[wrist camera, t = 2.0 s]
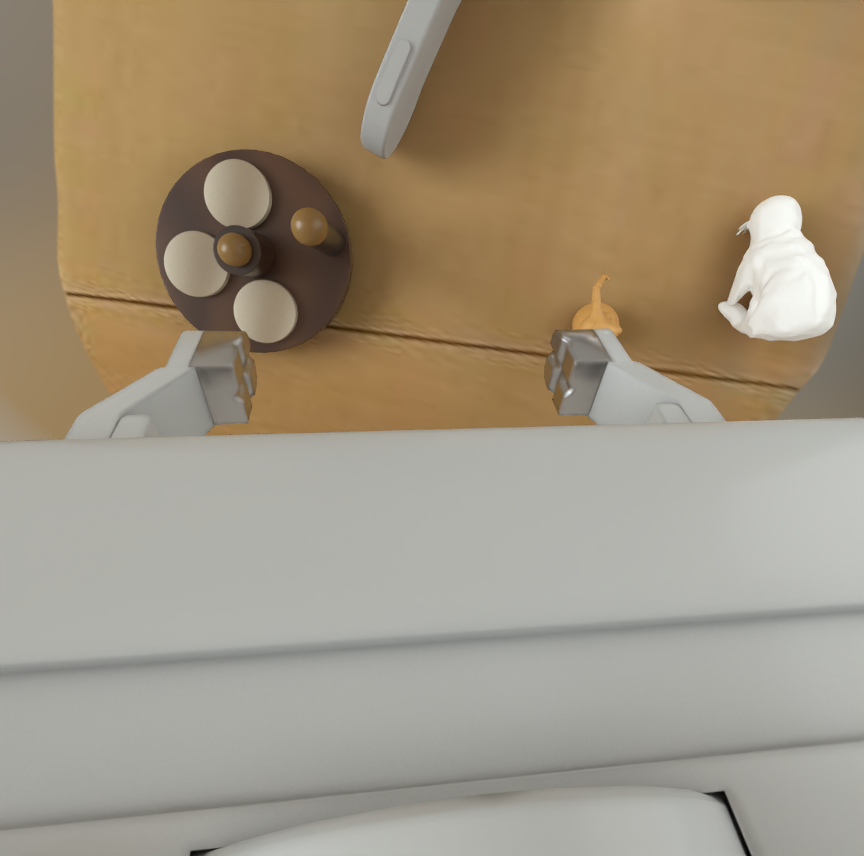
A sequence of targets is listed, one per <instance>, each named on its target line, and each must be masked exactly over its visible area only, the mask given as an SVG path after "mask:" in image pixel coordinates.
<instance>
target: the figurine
mask: <svg viewBox="0 0 864 856" xmlns="http://www.w3.org/2000/svg"><path fill="white" fill-rule="evenodd" d="M608 278H609V277H608V276H607V275H606V274H604V273H602V274H601V277H600V278H599V279H598V281H597V282H596V284H595V285H594V287H593V291H592V303H590V304H587V305H585V306H583V307H582V308H581V309H580V310H579V311H578V312H577V313H576V315H575V317H574V319H573V323H572V330H579V329H602V328H609V329H611V330H612V331H613V333H614V334H615V336H616V337H617V336H618V335H620V334H621V333H622V328H621V327H620V326H619V318H618V315H617V313H616V312H615V310H614V309H613V308H612V307H610V306H609V305H607V304H604V303H601V296H600V288H601V286H602V285H603V283H604V281H605V279H607V280H609V279H608Z"/></svg>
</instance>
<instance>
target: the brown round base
mask: <svg viewBox="0 0 864 856" xmlns="http://www.w3.org/2000/svg"><path fill="white" fill-rule="evenodd" d="M156 252H157V261H158V265H159V270H160V274H161V276H162V279H163V282H164V285H165V287H166V289H167V291H168V293H169V295H170V297H171V299H172V300H173V302H174V303H175V305H176V307H177V308H178V309H179V311H180V312H181V313H182V314H183V315H184V317H185V318H186V319H187V320H188V321H189V322H190V323H191V324H192V325H193V326H194V327H195V328H197V329H198V330H199V331H246V333H247V334H248V336H249V340H250V344H251V347H250V351H249V352H258V353H267V352H276V351H281V350H285V349H289V348H292V347H295V346H297V345H300V344H302V343H304V342H306V341H308V340H309V339H311V338H313V337H314V336H316V335H317V334H318V333H320V332H321V331H322V330H323V329H324V328H325V327H326V326H327V325H328V324H329V323H330V322H331V321H332V319H333V318H334V317H335V315H336V314H337V313H338V311H339V309H340V307H341V306H342V304H343V302H344V299H345V297H346V294H347V292H348V288H349V284H350V281H351V274H352V247H351V240H350V236H349V232H348V228H347V226H346V223H345V221H344V218H343V216H342V214H341V212H340V210H339V208H338V206H337V204H336V203H335V201H334V200H333V199H332V197H331V196H330V194H329V193H328V192H327V190H326V189H325V188H324V187H323V186H322V185H321V184H320V183H319V182H318V181H317V179H315V178H314V177H313V176H312V175H311V174H310V173H308V172H307V171H306V170H305V169H303V168H302V167H300V166H299V165H297V164H295V163H294V162H292V161H290V160H288V159H286V158H284V157H281V156H278V155H275V154H272V153H269V152H264V151H258V150H233V151H227V152H223V153H219V154H216V155H213V156H211V157H209V158H206V159H204V160H202V161H201V162H199V163H198V164H196V165H194V166H193V167H192V168H190V169H189V170H188V171H187V172H186V173H185V174H183V176H182V177H181V178H180V179H179V180H178V181H177V182H176V183H175V185H174V186H173V188H172V189H171V191H170V192H169V194H168V196H167V198H166V200H165V202H164V204H163V206H162V210H161V213H160V216H159V219H158V225H157V231H156Z"/></svg>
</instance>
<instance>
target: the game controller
mask: <svg viewBox="0 0 864 856" xmlns="http://www.w3.org/2000/svg"><path fill="white" fill-rule="evenodd" d="M461 1H462V0H408V1H407V4H406V6H405V9H404V11H403V13H402V16H401V18H400V20H399V23H398V25H397V28H396V30H395V32H394V35H393V37H392V39H391V42H390V44H389V47H388V49H387V51H386V54H385V56H384V59H383V61H382V63H381V66H380V68H379V71H378V73H377V75H376V78H375V81H374V83H373V86H372V89H371V92H370V95H369V98H368V101H367V105H366V108H365V112H364V117H363V122H362V128H361V143H362V146H363V147H364V148H365V149H367V150H368V151H370V152H372V153H374V154H376V155H377V156H379V157H381V158H384V159H386V158H388V157H389V156H390V155H391V154H392V153H393V152H394V150H395V149H396V147H397V145H398V144H399V142H400V140H401V138H402V136H403V134H404V132H405V130H406V128H407V125H408V123H409V121H410V119H411V116H412V114H413V111H414V109H415V106H416V103H417V101H418V98H419V95H420V92H421V90H422V87H423V85H424V82H425V80H426V78H427V75H428V73H429V71H430V69H431V66H432V64H433V62H434V60H435V57H436V55H437V53H438V51H439V48H440V46H441V44H442V42H443V39H444V37H445V35H446V32H447V30H448V28H449V26H450V23H451V21H452V19H453V17H454V15H455V12H456V10H457V8H458V7H459V5H460V3H461Z"/></svg>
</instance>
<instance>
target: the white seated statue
mask: <svg viewBox="0 0 864 856" xmlns="http://www.w3.org/2000/svg"><path fill="white" fill-rule="evenodd" d="M801 225H802V213H801V209H800V206H799V204H798V203H797V201H796V200H795V199H794V198H792V197H789V196H785V195H780V196H774V197H771V198H768V199H767V200H765V201H763V202H761V203H760V204H759V205H758V206H757V207H756V208H755V209H754V211H753V213H752V215H751V217H750V220H749V221H747V222H745V223H744V224H743V225H742V226H740V227H739V228H740V229H741V228H742V229H741V230H740V229H739V230H740V231H739V232H738V234H739V233H740V232H741V231H743V230H744V229H745V228H746V227H747V228H748V231H750V236H751V242H750V247H749V249H748V250H747V252H746V253H745V255H744V257H743V260H742V262H741V264H740V266H739V268H738V270H737V273H736V277H735V280H734V283H733V285H732V288H731V291H730V294H729V297H728V300H727V301H725V302H721V303H720V304H719V305H718V308H719V311H720V312H721V313H722V314H723V316H724V317H726V318H727V319H728V320H729V321H730V323H731V325H732V326H733V327H734V328H736V330H738V331H740V332H741V333H745V334H747V335H748V336H749V337H750V338H761V339H765V340H769V341H776V340H786V341H798V340H803V339H808V338H812V337H816V336H820V335H822V334H824V333H825V332H827V331H828V330H829V329H830V328H831V327H832V326H833V324H834V320H835V315H836V297H837V293H836V290H835V288H834V285H833V283H832V280H831V277H830V274H829V270H828V268H827V267H826V265H825V262H824V260H823V259H822V258H821V257H820V256H818V255H817V253H816V252H815V249H814V245H813V244H812V243H811V242H810V241H809V240H807V239H806V238H805V237H804V236H803V234H802V232H801V231H800V230H801ZM747 228H746V229H747ZM746 229H745V230H746ZM744 232H745V231H744ZM738 234H737V235H738ZM748 291H750V292H751V294H752V295H753V297H752V299H751V301H750V303H749V308H748V311H747V310H746V309H745V307H744V306H743V305H741V304H739V303H737V302H738V301H739V300H740V299H741V298H742V297H743V296H744V295H745V294H746V293H747V292H748Z"/></svg>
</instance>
